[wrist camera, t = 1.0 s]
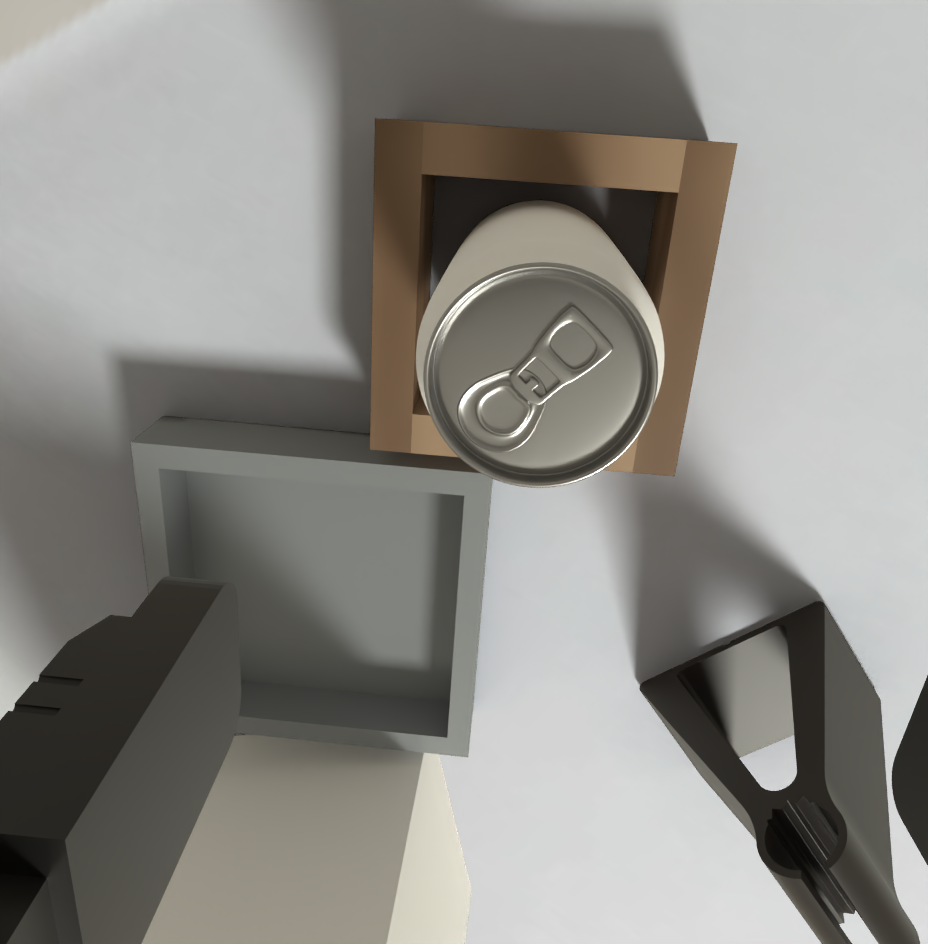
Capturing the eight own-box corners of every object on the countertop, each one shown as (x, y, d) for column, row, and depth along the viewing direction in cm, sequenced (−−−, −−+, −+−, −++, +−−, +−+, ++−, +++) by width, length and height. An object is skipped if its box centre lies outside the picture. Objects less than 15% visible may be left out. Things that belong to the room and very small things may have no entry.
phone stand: (822, 598, 34) (960, 821, 23) (877, 694, 36) (1029, 942, 25) (638, 683, 37) (684, 919, 26) (697, 768, 38) (765, 1023, 28)
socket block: (709, 141, 27) (737, 143, 24) (657, 436, 32) (674, 476, 28) (395, 119, 28) (374, 118, 24) (387, 412, 32) (369, 449, 29)
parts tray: (495, 444, 32) (492, 474, 30) (472, 711, 38) (468, 756, 35) (163, 416, 33) (130, 442, 30) (189, 683, 39) (164, 725, 36)
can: (415, 288, 30) (350, 380, 19) (538, 158, 28) (545, 178, 17) (532, 403, 32) (534, 549, 21) (658, 288, 29) (735, 384, 18)
